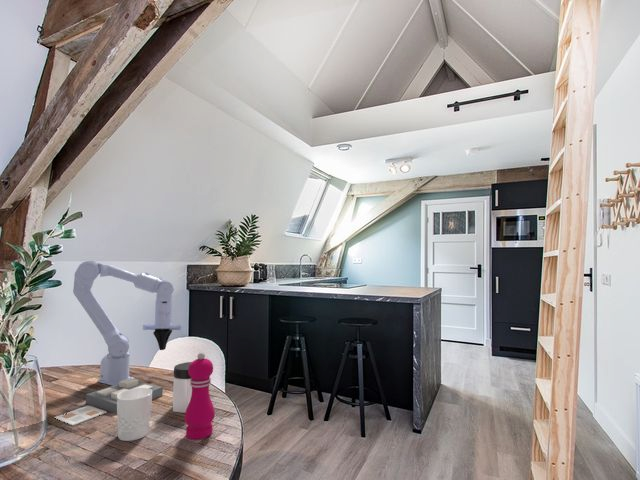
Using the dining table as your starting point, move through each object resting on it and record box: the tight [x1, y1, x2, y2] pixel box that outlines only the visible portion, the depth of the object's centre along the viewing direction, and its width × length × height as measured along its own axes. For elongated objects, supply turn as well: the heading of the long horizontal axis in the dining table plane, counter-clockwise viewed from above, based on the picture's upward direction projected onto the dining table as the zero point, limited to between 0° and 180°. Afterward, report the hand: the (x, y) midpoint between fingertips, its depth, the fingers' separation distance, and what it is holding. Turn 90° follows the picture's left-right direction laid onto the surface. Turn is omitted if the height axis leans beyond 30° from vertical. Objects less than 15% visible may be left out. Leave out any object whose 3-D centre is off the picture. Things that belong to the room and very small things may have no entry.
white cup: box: [116, 388, 153, 442], centre depth 89 cm, size 8×8×10 cm
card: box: [53, 404, 108, 426], centre depth 99 cm, size 9×9×1 cm
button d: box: [133, 384, 153, 389], centre depth 113 cm, size 4×4×2 cm
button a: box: [97, 387, 118, 396], centre depth 110 cm, size 4×4×2 cm
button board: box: [85, 380, 164, 414], centre depth 111 cm, size 15×15×3 cm
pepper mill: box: [184, 352, 216, 440], centre depth 90 cm, size 7×7×20 cm
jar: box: [172, 361, 193, 414], centre depth 106 cm, size 9×8×12 cm
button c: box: [111, 389, 128, 400], centre depth 106 cm, size 4×4×2 cm
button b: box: [119, 377, 139, 389], centre depth 116 cm, size 4×4×2 cm
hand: (162, 349), depth 134 cm, fingers closed
